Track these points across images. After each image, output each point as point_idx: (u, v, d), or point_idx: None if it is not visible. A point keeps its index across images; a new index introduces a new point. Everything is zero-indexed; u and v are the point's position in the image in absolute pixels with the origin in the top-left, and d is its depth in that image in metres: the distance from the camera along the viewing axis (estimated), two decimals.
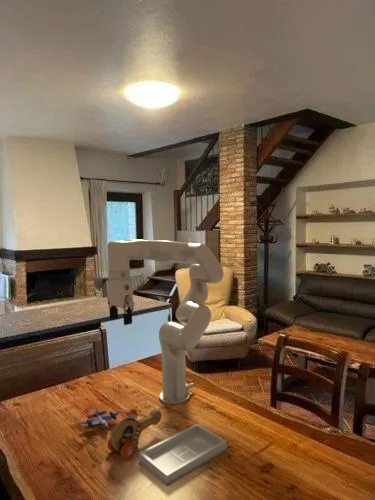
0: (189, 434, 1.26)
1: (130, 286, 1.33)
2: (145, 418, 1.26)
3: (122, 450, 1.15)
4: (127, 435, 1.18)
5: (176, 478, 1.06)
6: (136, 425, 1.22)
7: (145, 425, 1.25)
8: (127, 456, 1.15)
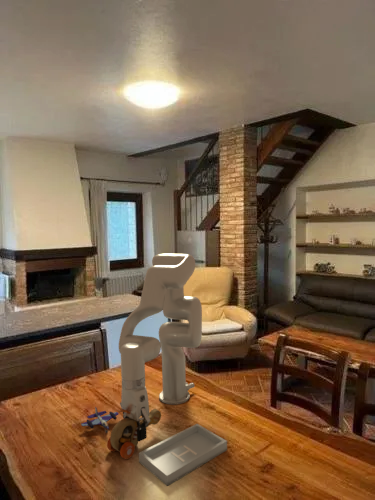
0: (189, 434, 1.26)
1: (146, 396, 1.19)
2: None
3: (121, 450, 1.15)
4: (126, 435, 1.18)
5: (176, 478, 1.06)
6: (136, 425, 1.22)
7: None
8: (126, 456, 1.15)
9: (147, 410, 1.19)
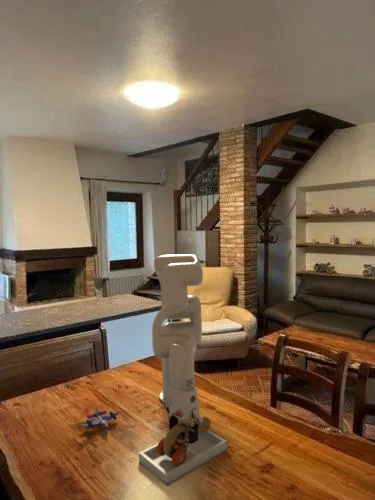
0: None
1: (196, 397, 1.13)
2: None
3: (174, 457, 1.09)
4: (179, 441, 1.12)
5: (176, 478, 1.06)
6: (188, 432, 1.16)
7: None
8: (178, 464, 1.09)
9: (197, 411, 1.13)
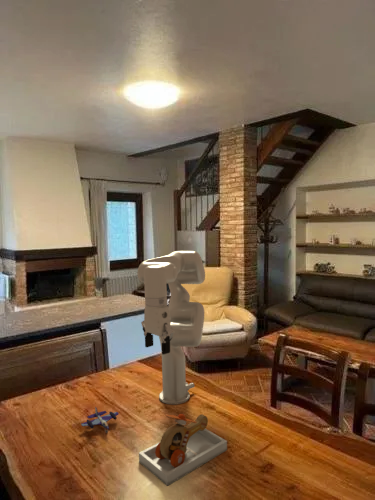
0: None
1: (168, 313, 1.27)
2: (192, 424, 1.20)
3: (172, 458, 1.09)
4: (176, 442, 1.12)
5: (176, 478, 1.06)
6: (185, 432, 1.16)
7: (193, 431, 1.19)
8: (177, 465, 1.09)
9: (169, 327, 1.27)
